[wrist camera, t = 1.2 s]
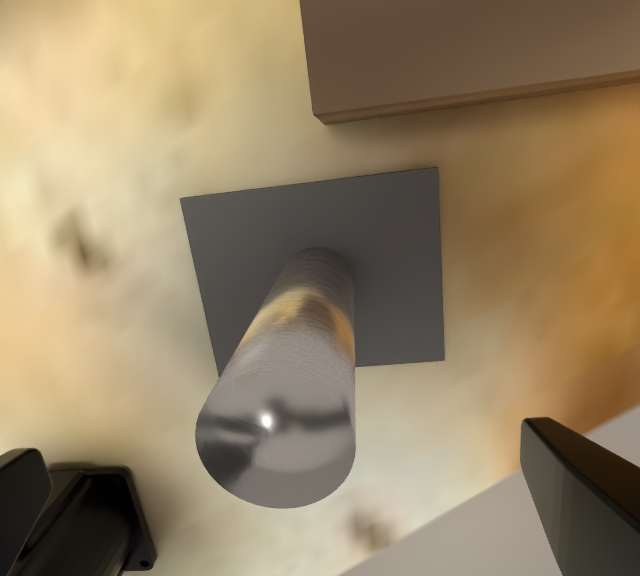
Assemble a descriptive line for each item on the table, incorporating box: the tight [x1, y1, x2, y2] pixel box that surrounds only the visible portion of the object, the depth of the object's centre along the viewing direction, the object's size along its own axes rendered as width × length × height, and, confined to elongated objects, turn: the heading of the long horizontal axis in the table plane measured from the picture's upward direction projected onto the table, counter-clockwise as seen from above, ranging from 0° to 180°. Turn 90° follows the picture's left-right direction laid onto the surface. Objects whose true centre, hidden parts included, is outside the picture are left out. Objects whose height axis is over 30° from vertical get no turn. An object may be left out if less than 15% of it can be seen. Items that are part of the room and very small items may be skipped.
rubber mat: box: [180, 167, 445, 377], centre depth 17 cm, size 8×10×1 cm
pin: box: [195, 247, 356, 508], centre depth 13 cm, size 3×3×10 cm
